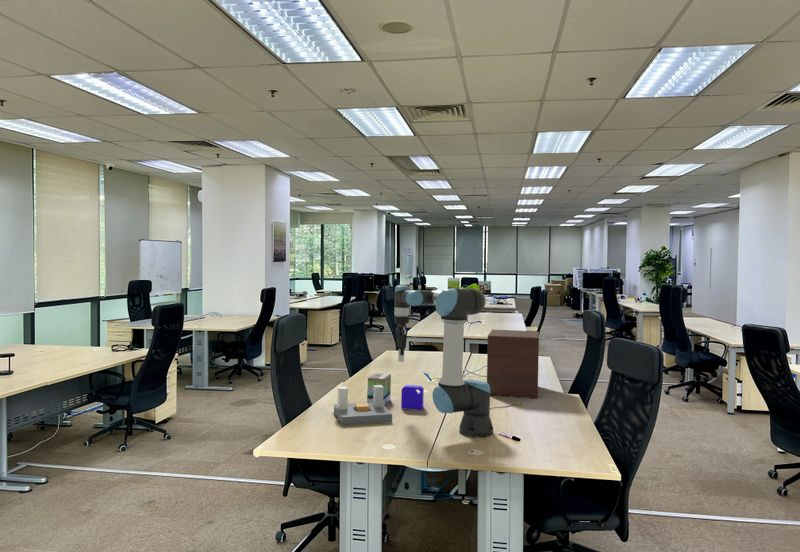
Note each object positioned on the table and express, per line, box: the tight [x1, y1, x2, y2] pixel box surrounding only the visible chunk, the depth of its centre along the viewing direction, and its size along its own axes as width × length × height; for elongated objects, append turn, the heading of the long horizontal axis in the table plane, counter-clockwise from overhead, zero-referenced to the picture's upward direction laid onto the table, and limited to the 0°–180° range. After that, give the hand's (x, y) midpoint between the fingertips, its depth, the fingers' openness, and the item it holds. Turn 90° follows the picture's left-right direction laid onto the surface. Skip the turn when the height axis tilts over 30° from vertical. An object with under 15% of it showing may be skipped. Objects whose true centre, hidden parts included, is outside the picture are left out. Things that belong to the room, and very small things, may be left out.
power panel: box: [333, 402, 393, 427], centre depth 259 cm, size 24×24×4 cm
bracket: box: [400, 384, 425, 411], centre depth 284 cm, size 18×11×12 cm, turn 168°
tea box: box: [366, 372, 392, 406], centre depth 289 cm, size 15×10×15 cm
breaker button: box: [355, 402, 370, 412], centre depth 259 cm, size 6×6×5 cm
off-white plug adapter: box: [337, 385, 349, 410], centre depth 261 cm, size 5×4×10 cm
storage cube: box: [486, 329, 540, 399], centre depth 324 cm, size 35×29×35 cm
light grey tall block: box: [373, 385, 384, 408], centre depth 266 cm, size 5×4×10 cm
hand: (401, 361), depth 273 cm, fingers closed
